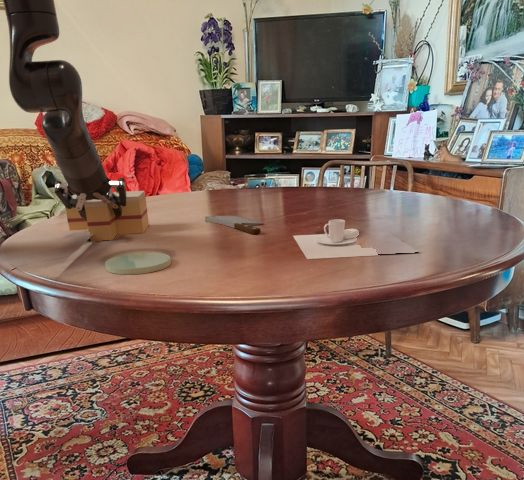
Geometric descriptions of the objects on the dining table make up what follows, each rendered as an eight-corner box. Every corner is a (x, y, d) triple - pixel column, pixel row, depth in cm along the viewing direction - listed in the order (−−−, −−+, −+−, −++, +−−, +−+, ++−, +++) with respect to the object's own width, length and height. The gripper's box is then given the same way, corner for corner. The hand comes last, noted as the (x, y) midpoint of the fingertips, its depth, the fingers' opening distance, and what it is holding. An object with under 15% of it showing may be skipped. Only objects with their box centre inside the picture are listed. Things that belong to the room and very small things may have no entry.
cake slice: (90, 241, 108) (83, 202, 104) (96, 235, 113) (90, 198, 110) (112, 240, 108) (106, 201, 105) (117, 234, 113) (111, 197, 110)
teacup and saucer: (355, 236, 102) (356, 216, 101) (365, 245, 95) (366, 223, 93) (312, 238, 102) (312, 218, 100) (319, 247, 95) (319, 225, 93)
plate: (99, 276, 82) (98, 270, 82) (112, 259, 92) (111, 254, 92) (168, 272, 83) (167, 266, 82) (173, 256, 93) (172, 250, 92)
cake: (70, 236, 113) (63, 199, 110) (81, 228, 122) (75, 193, 119) (143, 233, 114) (138, 196, 111) (149, 225, 123) (144, 190, 120)
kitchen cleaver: (285, 227, 111) (243, 230, 106) (285, 231, 111) (244, 235, 107) (238, 213, 131) (201, 215, 126) (238, 217, 131) (201, 220, 127)
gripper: (118, 143, 96) (136, 199, 112) (41, 146, 96) (69, 203, 111) (117, 175, 94) (136, 228, 109) (38, 179, 93) (67, 232, 109)
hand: (102, 215), depth 110 cm, fingers open, 6 cm apart
